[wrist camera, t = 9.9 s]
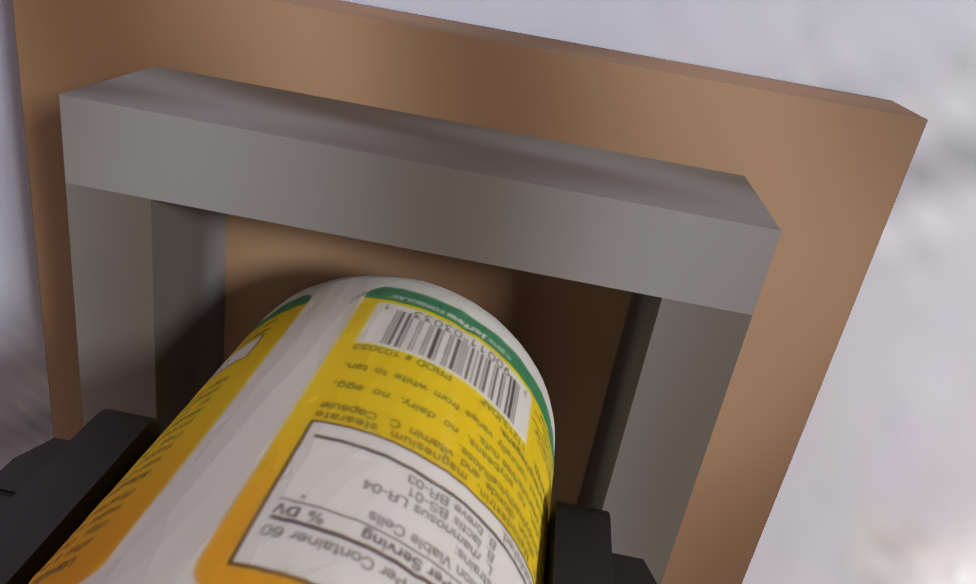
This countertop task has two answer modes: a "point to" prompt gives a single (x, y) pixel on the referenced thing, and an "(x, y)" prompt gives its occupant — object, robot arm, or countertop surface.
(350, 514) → the supplement bottle
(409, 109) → the socket stand
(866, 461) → the countertop surface
